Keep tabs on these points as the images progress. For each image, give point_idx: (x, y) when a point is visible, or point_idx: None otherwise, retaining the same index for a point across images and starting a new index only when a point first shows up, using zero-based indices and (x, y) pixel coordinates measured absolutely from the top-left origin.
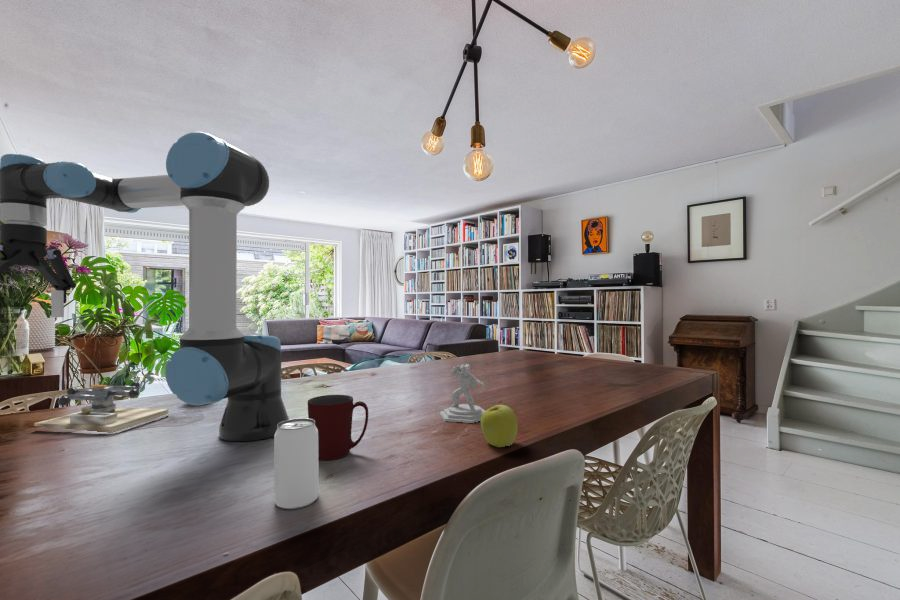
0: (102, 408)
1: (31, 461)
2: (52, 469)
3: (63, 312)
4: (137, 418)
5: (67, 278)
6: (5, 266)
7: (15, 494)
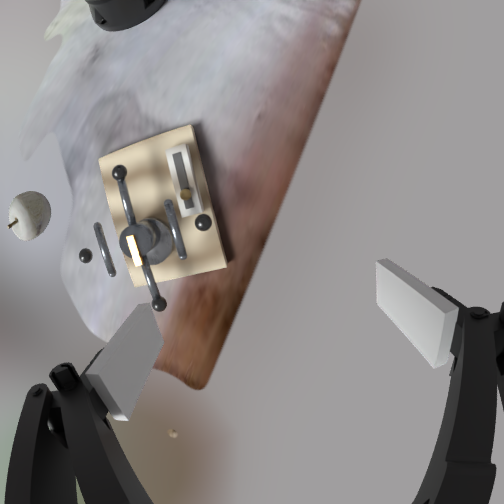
0: (153, 219)
1: (298, 106)
2: (301, 58)
3: (131, 313)
4: (147, 141)
5: (36, 422)
6: (472, 442)
7: (344, 32)
